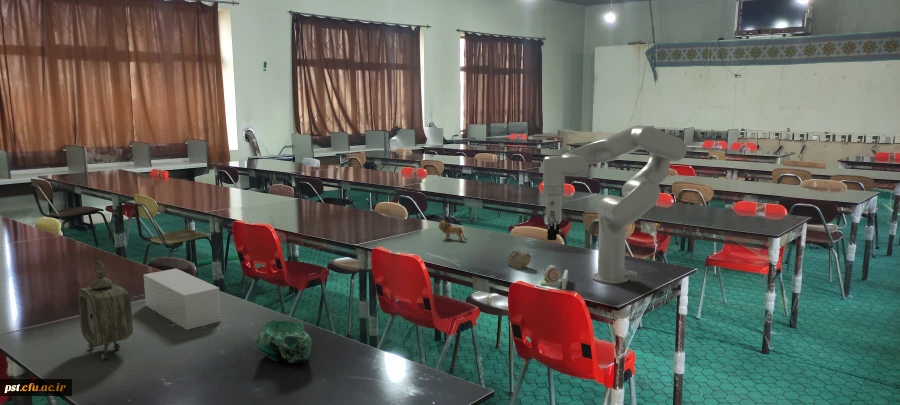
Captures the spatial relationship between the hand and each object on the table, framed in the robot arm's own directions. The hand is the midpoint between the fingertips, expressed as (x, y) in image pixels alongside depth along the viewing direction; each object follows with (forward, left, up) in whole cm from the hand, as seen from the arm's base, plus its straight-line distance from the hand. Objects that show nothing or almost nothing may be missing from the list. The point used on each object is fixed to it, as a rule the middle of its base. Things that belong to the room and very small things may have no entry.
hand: (553, 237), depth 234 cm
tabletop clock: (+109, +94, -18) cm, 145 cm away
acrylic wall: (-5, +1, -17) cm, 18 cm away
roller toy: (0, 0, -17) cm, 17 cm away
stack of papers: (+111, +62, -18) cm, 128 cm away
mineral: (+60, +87, -18) cm, 107 cm away
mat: (0, 0, -17) cm, 17 cm away
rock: (+15, -19, -18) cm, 30 cm away
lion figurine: (+54, -62, -18) cm, 84 cm away
